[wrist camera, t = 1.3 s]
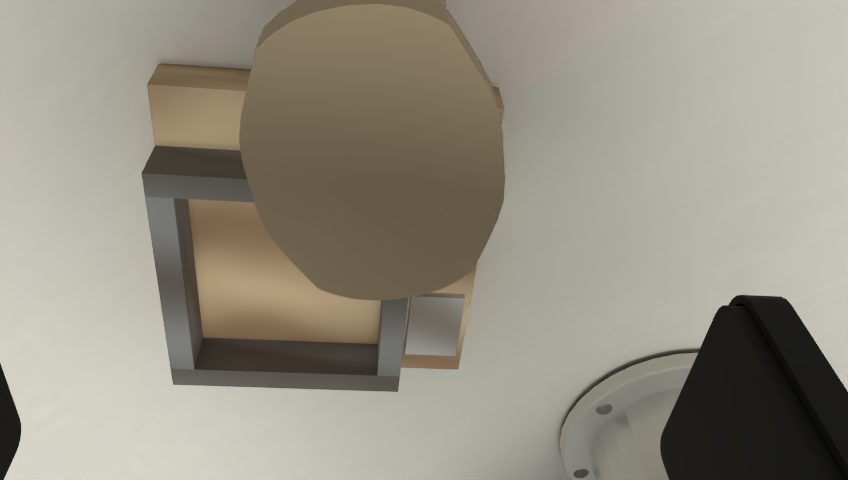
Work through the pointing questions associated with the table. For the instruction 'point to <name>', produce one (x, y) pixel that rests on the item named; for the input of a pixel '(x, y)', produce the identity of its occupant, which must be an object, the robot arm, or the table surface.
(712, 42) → the table surface
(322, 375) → the wooden tray
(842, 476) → the robot arm
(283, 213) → the handle
